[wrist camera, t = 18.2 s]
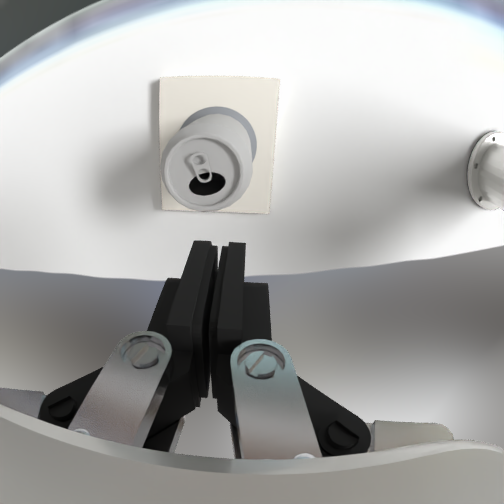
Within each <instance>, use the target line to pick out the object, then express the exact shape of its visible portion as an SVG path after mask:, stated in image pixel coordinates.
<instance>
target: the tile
mask: <svg viewBox="0 0 504 504" xmlns="http://www.w3.org/2000/svg"><path fill="white" fill-rule="evenodd" d="M279 86H280V79H276V78H263V77H245V76H177V77H160V91H159V145H160V163H161V157H162V152H163V150H164V149H165V147H166V145H167V143H168V141H169V140H170V139H171V138H172V137H173V136H174V135H175V134H176V133H177V132H178V131H180V130H181V129H182V128H184V127H186V126H187V125H189V124H190V123H192V122H194V121H195V120H197V119H199V118H201V117H204V116H206V115H209V114H223V115H227V116H231V117H232V118H234V119H235V120H237V121H239V122H240V123H241V124H242V126H243V127H244V128H245V129H246V130H247V133H248V135H249V138H250V142H251V152H252V168H253V174H252V177H251V180H250V184H249V187H248V188H247V190H246V191H245V192H244V194H243V195H242V197H241V198H240V199H239V200H237V201H236V202H235V203H233V204H232V205H231V206H229V207H226V208H223V209H221V210H218V211H211V212H238V213H260V214H269V212H270V200H271V188H272V176H273V164H274V152H275V139H276V126H277V113H278V99H279ZM160 177H161V170H160ZM161 197H162V210H176V211H197V210H193V209H189V208H187V207H185V206H183V205H182V204H180V203H178V202H177V201H176V200H175V199H174V198H173V197H172V196H171V195H170V194H169V193H168V191H167V189H166V187H165V185H164V183H163V181H162V177H161Z"/></svg>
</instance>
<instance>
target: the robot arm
mask: <svg viewBox="0 0 504 504" xmlns="http://www.w3.org/2000/svg"><path fill="white" fill-rule="evenodd" d="M467 177H468V187H469V191H470V194H471V196H472V198H473V200H474V201H475V202H476V203H477V204H478V205H479V206H481V207H482V208H484V209H486V210H496V209H499V208H500V209H502V210H503V211H504V133H502V132H498V131H494V132H490V133H488V134H486V135H484V136H483V137H482V138H481V139H480V140H479V141H478V143H477V144H476V146H475V147H474V149H473V151H472V154H471V157H470V160H469V164H468V172H467ZM245 248H246V243H237V242H229V246H222V250H221V256H220V262H219V267H218V248H217V246H212V244H211V241H194V242H193V245H192V248H191V251H190V254H189V256H188V259H187V262H186V265H185V268H184V271H183V274H182V277H181V279H179V278H168V279H167V280H166V282H165V285H164V287H163V290H162V292H161V295H160V297H159V300H158V303H157V305H156V308H155V311H154V313H153V316H152V319H151V321H150V324H149V327H148V330H147V331H140V332H135V333H132V334H130V335H128V336H126V337H125V338H123V339H122V340H121V341H120V342H119V343H118V345H117V346H116V348H115V349H114V351H113V353H112V354H111V356H110V358H109V359H108V361H107V363H106V364H105V366H104V367H102V368H100V369H98V370H96V371H94V372H92V373H90V374H88V375H86V376H84V377H81V378H79V379H77V380H75V381H73V382H72V383H69V384H67V385H65V386H63V387H60V388H58V389H56V390H54V391H53V392H51V393H50V394H48V395H45V394H44V392H41V391H29V390H18V389H9V388H0V504H504V449H502V448H500V447H498V446H497V445H494V444H491V443H486V442H481V441H474V440H454V437H453V434H452V433H451V432H450V430H449V429H448V428H447V427H445V426H443V425H442V424H437V423H414V422H392V421H379V420H375V421H374V423H365V422H364V421H363V420H361V419H360V418H359V417H358V416H356V415H355V414H353V413H352V412H350V411H349V410H347V409H346V408H344V407H342V406H341V405H339V404H338V403H336V402H335V401H333V400H332V399H330V398H329V397H327V396H326V395H324V394H323V393H321V392H320V391H318V390H317V389H316V388H314V387H313V386H311V385H309V384H308V383H307V382H305V381H304V380H303V379H301V378H300V377H298V376H297V374H296V371H295V368H294V365H293V362H292V359H291V357H290V355H289V353H288V351H287V350H286V349H285V348H284V347H283V346H281V345H280V344H278V343H276V342H273V341H272V338H271V323H270V306H269V291H268V284H267V283H250V282H244V270H245ZM210 374H211V381H212V394H213V398H215V399H217V403H218V404H217V405H218V411H219V412H220V413H221V414H222V415H223V416H224V417H225V418H226V419H227V420H228V421H229V422H230V429H231V437H232V444H233V452H234V459H227V458H212V457H202V456H192V455H183V454H175V453H174V452H175V449H176V446H177V443H178V440H179V437H180V435H181V431H182V429H183V426H184V423H185V417H186V416H185V415H186V414H188V413H189V412H191V411H193V410H194V409H195V407H200V401H201V397H202V398H207V397H208V390H209V382H210Z"/></svg>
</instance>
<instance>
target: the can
mask: <svg viewBox="0 0 504 504" xmlns="http://www.w3.org/2000/svg"><path fill="white" fill-rule="evenodd" d="M160 170H161V177H162V181H163V183H164V185H165V187H166V189H167V191H168V193H169V194H170V195H171V196H172V197H173V198H174V199H175V200H176V201H177V202H178V203H180V204H182V205H183V206H185V207H187V208H189V209H193V210H197V211H202V212H208V211H218V210H221V209H223V208H226V207H229V206H231V205H232V204H233V203H235V202H236V201H237V200H239V199H240V198H241V197H242V195H243V194H244V192H245V191H246V190H247V188H248V187H249V184H250V180H251V177H252V174H253V168H252V152H251V142H250V138H249V135H248V133H247V130H246V129H245V128H244V127H243V126H242V124H241V123H240V122H239V121H237V120H235V119H234V118H232V117H231V116H227V115H223V114H209V115H206V116H204V117H201V118H199V119H197V120H195V121H194V122H192V123H190V124H189V125H187V126H186V127H184V128H182V129H181V130H180V131H178V132H177V133H176V134H175V135H174V136H173V137H172V138H171V139H170V140H169V141H168V143H167V145H166V147H165V149H164V150H163V152H162V157H161V163H160Z"/></svg>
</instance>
